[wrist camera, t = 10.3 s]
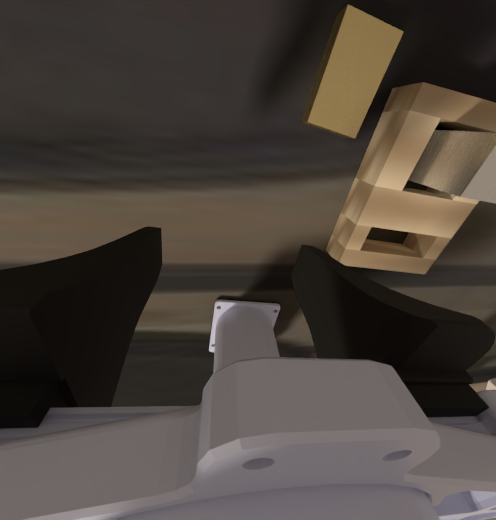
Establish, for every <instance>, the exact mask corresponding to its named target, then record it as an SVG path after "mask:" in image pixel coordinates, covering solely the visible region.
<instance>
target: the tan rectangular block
mask: <svg viewBox="0 0 496 520" xmlns="http://www.w3.org/2000/svg"><path fill="white" fill-rule="evenodd" d="M403 32H404V31H401V30H399V29H397V28H395V27H393V26H391V25H389V24H387V23H385V22H383V21H381V20H379V19H377V18H375V17H373V16H371V15H369V14H367V13H365V12H363V11H361V10H359V9H357V8H355V7H353V6H351V5H349V4H348V5H347V6H346V7H345V8H344V9H343V10H342V11H341V12H340V13H339V14H337V15H336V18H335V21H334V24H333V27H332V30H331V33H330V36H329V39H328V42H327V45H326V48H325V51H324V54H323V57H322V60H321V63H320V66H319V69H318V72H317V75H316V78H315V81H314V84H313V87H312V90H311V93H310V96H309V99H308V102H307V105H306V108H305V111H304V114H303V117H302V120H301V122H302V123H305V124H308V125H311V126H313V127H316V128H319V129H322V130H325V131H328V132H331V133H334V134H337V135H340V136H343V137H347V138H356V136H357V133H358V131H359V129H360V127H361V125H362V122H363V120H364V118H365V116H366V114H367V111H368V109H369V107H370V105H371V103H372V100H373V98H374V96H375V94H376V92H377V89H378V87H379V85H380V83H381V81H382V79H383V76H384V74H385V72H386V70H387V68H388V65H389V63H390V61H391V59H392V57H393V54H394V52H395V50H396V48H397V46H398V43H399V41H400V39H401V37H402V35H403Z"/></svg>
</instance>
